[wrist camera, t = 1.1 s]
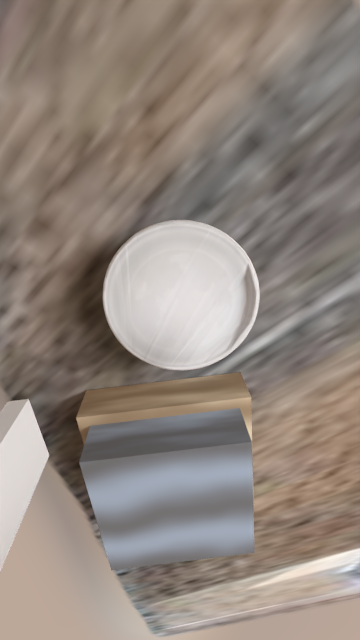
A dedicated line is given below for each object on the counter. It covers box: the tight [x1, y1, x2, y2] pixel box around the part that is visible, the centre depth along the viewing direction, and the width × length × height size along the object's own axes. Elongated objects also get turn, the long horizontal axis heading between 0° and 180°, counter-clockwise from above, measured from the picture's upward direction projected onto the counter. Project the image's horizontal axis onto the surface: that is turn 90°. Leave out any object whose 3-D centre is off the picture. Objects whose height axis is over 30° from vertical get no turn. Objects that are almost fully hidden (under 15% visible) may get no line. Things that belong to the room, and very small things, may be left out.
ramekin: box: [103, 220, 259, 370], centre depth 25 cm, size 11×11×5 cm
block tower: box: [76, 372, 254, 570], centre depth 30 cm, size 15×15×8 cm
